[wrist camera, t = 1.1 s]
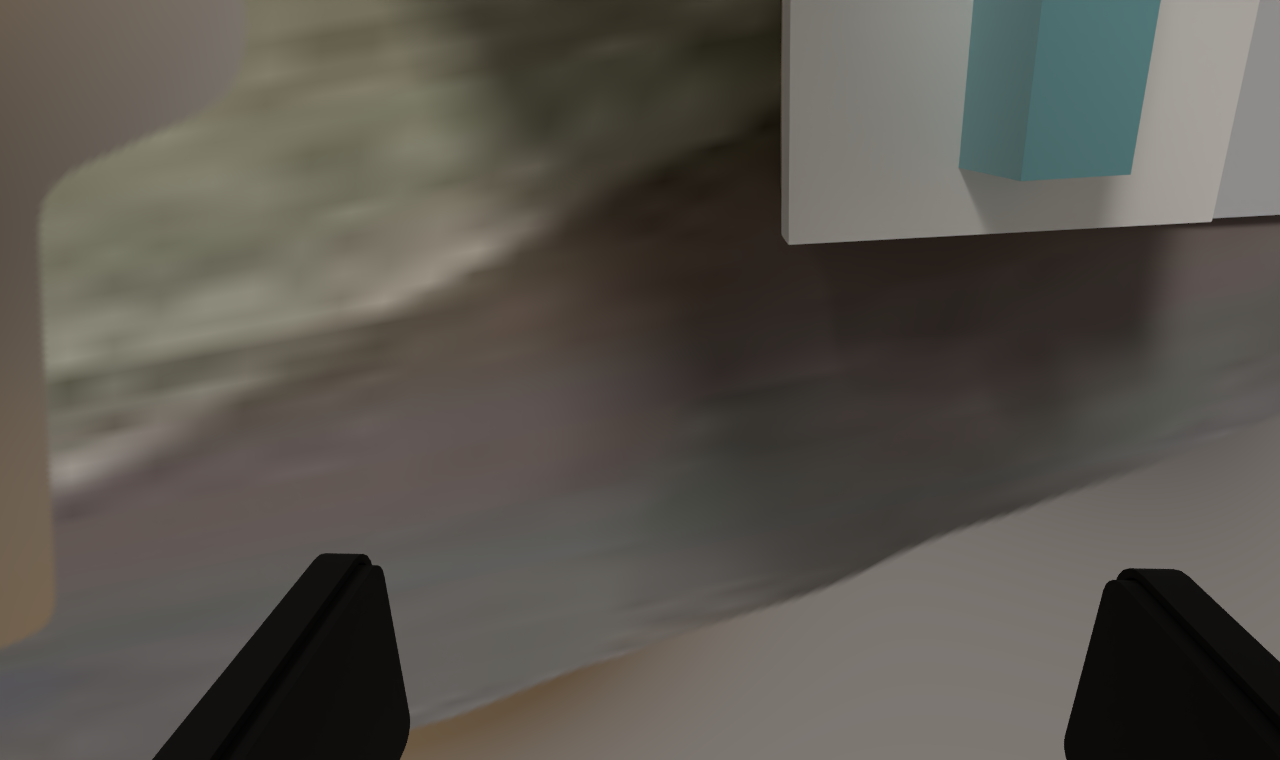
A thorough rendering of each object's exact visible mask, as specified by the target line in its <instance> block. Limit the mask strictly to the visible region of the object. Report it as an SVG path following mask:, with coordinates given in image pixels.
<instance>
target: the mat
mask: <svg viewBox="0 0 1280 760" xmlns="http://www.w3.org/2000/svg"><path fill="white" fill-rule="evenodd" d="M1265 215H1280V0H1260V2H1259V6H1258V11H1257V16H1256V20H1255V25H1254V29H1253V34H1252V39H1251V43H1250V48H1249V52H1248V57H1247V62H1246V66H1245V71H1244V75H1243V80H1242V85H1241V89H1240V94H1239V99H1238V103H1237V108H1236V112H1235V117H1234V122H1233V126H1232V131H1231V135H1230V140H1229V145H1228V149H1227V154H1226V158H1225V163H1224V168H1223V172H1222V177H1221V182H1220V186H1219V191H1218V195H1217V200H1216V205H1215V209H1214V214H1213V218H1229V217H1247V216H1265Z"/></svg>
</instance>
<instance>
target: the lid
mask: <svg viewBox="0 0 1280 760" xmlns="http://www.w3.org/2000/svg"><path fill="white" fill-rule="evenodd" d="M1259 2H1260V0H782V204H781V235H782V237H783V238H784V239H785V241H786V242H787V243H788V245H795V244H814V243H832V242H850V241H869V240H887V239H905V238H924V237H942V236H960V235H979V234H997V233H1016V232H1034V231H1052V230H1071V229H1089V228H1107V227H1126V226H1144V225H1162V224H1181V223H1199V222H1212V218H1213V214H1214V209H1215V205H1216V200H1217V195H1218V191H1219V186H1220V182H1221V177H1222V172H1223V168H1224V163H1225V158H1226V154H1227V149H1228V145H1229V140H1230V135H1231V131H1232V126H1233V122H1234V117H1235V112H1236V108H1237V103H1238V99H1239V94H1240V89H1241V85H1242V80H1243V75H1244V71H1245V66H1246V62H1247V57H1248V52H1249V48H1250V43H1251V39H1252V34H1253V29H1254V25H1255V20H1256V16H1257V11H1258V6H1259Z"/></svg>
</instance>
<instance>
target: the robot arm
mask: <svg viewBox="0 0 1280 760" xmlns="http://www.w3.org/2000/svg"><path fill="white" fill-rule="evenodd" d="M409 729H410V714H409V709H408V703H407V698H406V692H405V687H404V682H403V676H402V671H401V665H400V660H399V654H398V649H397V643H396V638H395V632H394V627H393V621H392V616H391V610H390V605H389V599H388V594H387V588H386V583H385V577H384V573H383V570H382V568H381V567H380V566H378V565H372V564H371V560H370V559H369V557H368V556H367V555H364V554H333V553H324V554H321V555H319V556H318V557H317V558H316V559H315V560H314V561H313V562H312V563H311V565H310V566H309V567H308V568H307V570H306V571H305V572H304V573H303V574H302V576H301V577H300V578H299V579H298V581H297V582H296V583H295V584H294V586H293V587H292V588H291V589H290V590H289V592H288V593H287V594H286V595H285V597H284V598H283V599H282V600H281V602H280V603H279V604H278V605H277V606H276V608H275V609H274V610H273V611H272V613H271V614H270V615H269V616H268V618H267V619H266V620H265V621H264V622H263V624H262V625H261V626H260V627H259V629H258V630H257V631H256V632H255V634H254V635H253V636H252V637H251V639H250V640H249V641H248V642H247V643H246V645H245V646H244V647H243V648H242V650H241V651H240V652H239V653H238V655H237V656H236V657H235V658H234V659H233V661H232V662H231V663H230V664H229V666H228V667H227V668H226V669H225V671H224V672H223V673H222V674H221V675H220V677H219V678H218V679H217V680H216V682H215V683H214V684H213V685H212V687H211V688H210V689H209V690H208V691H207V693H206V694H205V695H204V696H203V698H202V699H201V700H200V701H199V703H198V704H197V705H196V706H195V707H194V709H193V710H192V711H191V712H190V714H189V715H188V716H187V717H186V719H185V720H184V721H183V722H182V723H181V725H180V726H179V727H178V728H177V730H176V731H175V732H174V733H173V735H172V736H171V737H170V738H169V739H168V741H167V742H166V743H165V744H164V746H163V747H162V748H161V749H160V751H159V752H158V753H157V754H156V755H155V757H154V758H153V759H152V760H400V758H401V755H402V753H403V751H404V749H405V746H406V743H407V739H408V735H409ZM1064 750H1065V755H1066V759H1067V760H1280V662H1279V661H1278V660H1277V659H1276V658H1275V657H1274V656H1273V655H1272V654H1271V653H1270V652H1268V651H1267V650H1266V649H1265V648H1264V647H1263V646H1262V645H1261V644H1260V643H1259V642H1258V641H1257V640H1256V639H1254V637H1252V636H1251V635H1250V634H1249V633H1248V632H1247V631H1246V630H1245V629H1244V628H1243V627H1242V626H1241V625H1239V623H1238V622H1236V621H1235V620H1234V619H1233V618H1232V617H1231V616H1230V615H1229V614H1228V613H1227V612H1226V611H1225V610H1224V609H1222V607H1221V606H1220V605H1218V604H1217V603H1216V602H1215V601H1214V600H1213V599H1212V598H1211V597H1210V596H1209V595H1208V594H1207V593H1206V592H1204V591H1203V589H1201V588H1200V587H1199V586H1198V585H1197V584H1196V583H1195V582H1194V581H1193V580H1192V579H1191V578H1190V577H1189V576H1187V575H1186V574H1184V573H1183V572H1182V571H1179V570H1174V569H1134V568H1129V569H1125V570H1123V571H1122V572H1121V573H1120V574H1119V575H1118V577H1117V580H1112V581H1109V582H1108V583H1107V584H1106V585H1105V588H1104V590H1103V594H1102V598H1101V601H1100V605H1099V609H1098V613H1097V617H1096V620H1095V624H1094V628H1093V632H1092V635H1091V639H1090V643H1089V647H1088V651H1087V654H1086V658H1085V662H1084V666H1083V670H1082V674H1081V677H1080V681H1079V685H1078V689H1077V692H1076V697H1075V700H1074V704H1073V708H1072V711H1071V715H1070V719H1069V723H1068V727H1067V730H1066V734H1065V739H1064Z"/></svg>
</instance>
